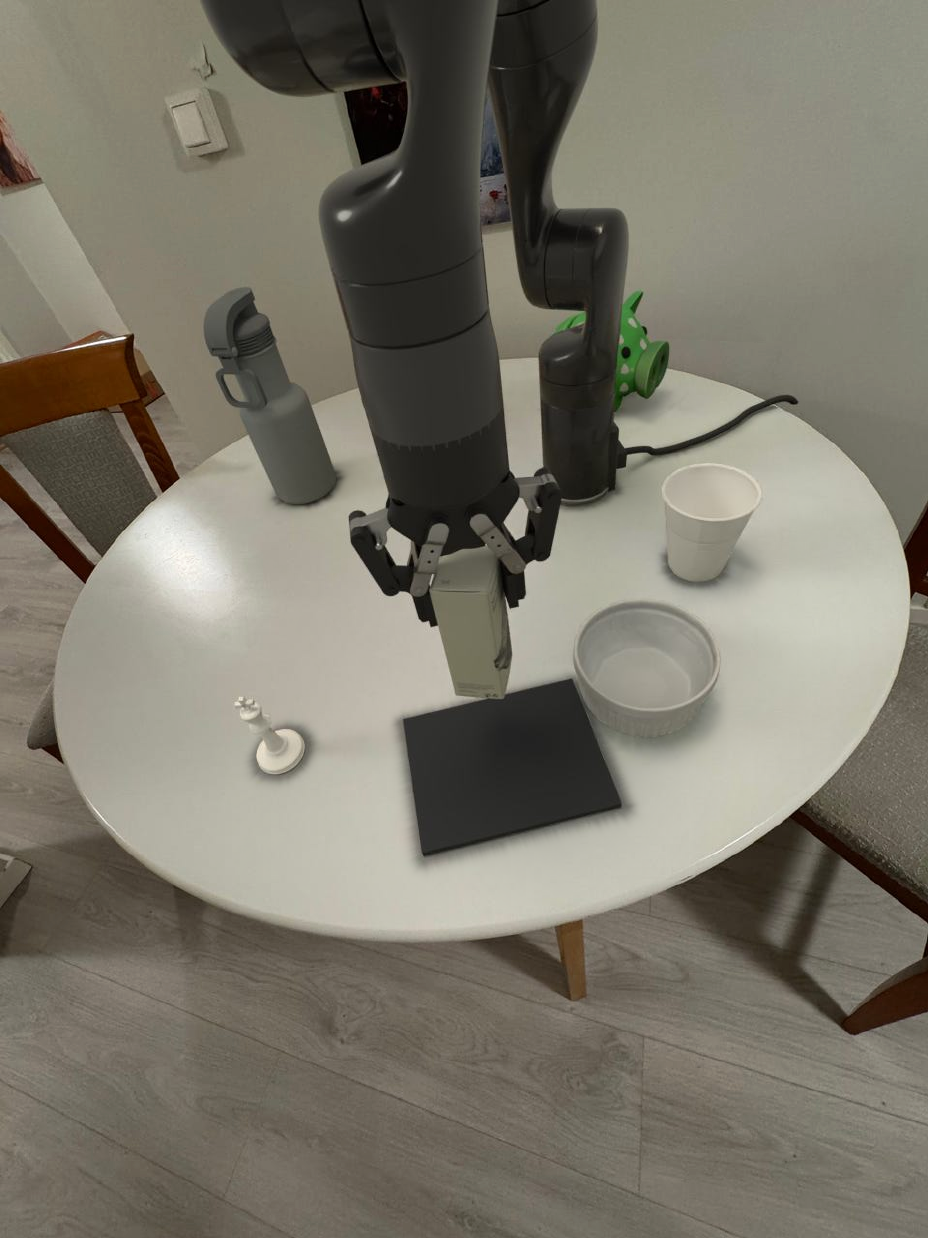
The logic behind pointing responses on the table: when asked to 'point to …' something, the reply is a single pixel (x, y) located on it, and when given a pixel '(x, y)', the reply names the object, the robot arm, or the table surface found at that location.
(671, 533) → the cup
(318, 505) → the table surface
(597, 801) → the mat
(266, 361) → the water bottle
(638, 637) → the ramekin
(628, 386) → the piggy bank
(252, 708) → the chess piece
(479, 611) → the box
